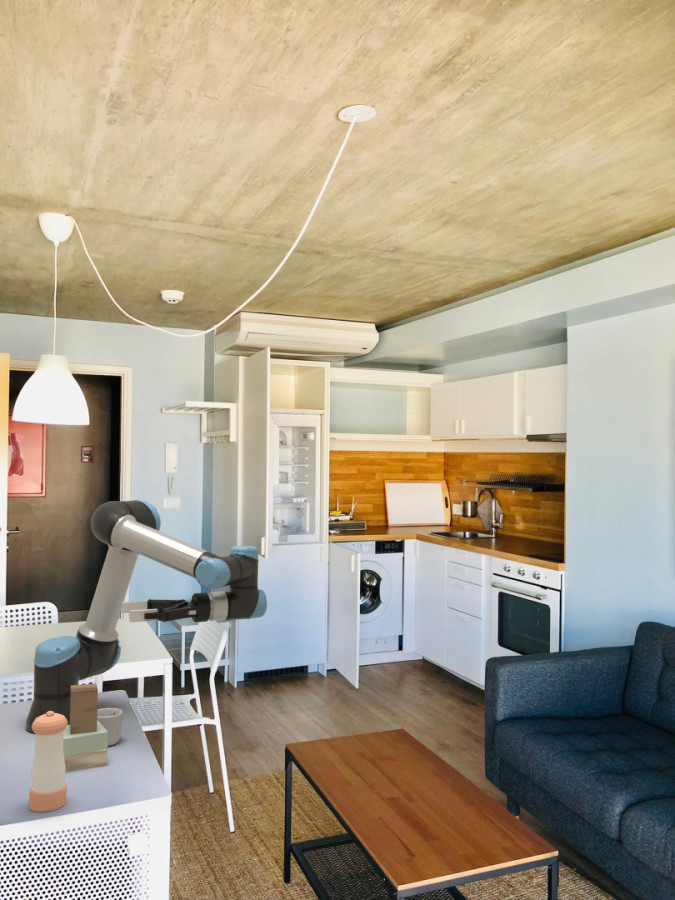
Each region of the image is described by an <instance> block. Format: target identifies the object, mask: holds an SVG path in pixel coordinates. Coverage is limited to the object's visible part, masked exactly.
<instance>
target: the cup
mask: <svg viewBox="0 0 675 900" xmlns="http://www.w3.org/2000/svg"><path fill="white" fill-rule="evenodd" d="M123 715H124V712H123V710H122V709H121V708H117V707H105V708H104V707H103V708H97V721H99V722H100V723H101V725H102V726H103V727H104V728H105V729H106V730H107V732H108V747H110V746H113V745H115V744H117V743H118V742H119V741H120V738H121V732H122V722H123Z"/></svg>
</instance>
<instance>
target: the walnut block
mask: <svg viewBox="0 0 675 900" xmlns="http://www.w3.org/2000/svg"><path fill="white" fill-rule="evenodd" d="M98 697H99V689H98V685H97V683H87V684H86V683H85V684H79V685H71V696H70V735H72V734H81V733H91V732H97V710H98V701H99V700H98Z"/></svg>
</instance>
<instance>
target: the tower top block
mask: <svg viewBox="0 0 675 900" xmlns="http://www.w3.org/2000/svg"><path fill="white" fill-rule="evenodd" d="M108 747H109V746H108V732H107V730H106V729H105V728H104V727H103V726H102V725H101V723H100V722H99V721H97V732H91V733H81V734H72V735H70V725H67V727H66V729H65V730H64V731H63V754H64V757H65V756H70V755H76V754H82V753H88V752H93V751H99V750H105V749H107V750H108V749H109V748H108Z"/></svg>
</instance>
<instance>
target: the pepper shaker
mask: <svg viewBox="0 0 675 900" xmlns="http://www.w3.org/2000/svg"><path fill="white" fill-rule="evenodd" d="M67 724H68V722H67V719H66V718H65V716H64V715H61V714H58V713H54V712H53V711H48V712H47V713H46V714H44V715H41V716H39V717H37V718H36V719H35V720H34V722H33V724H32V730H33V732H34V733H33V734H35V738H34V739H35V741H34V742H35V746H34V757H33V763H32V766H31V767H32V768H31V772H30V773H31V781H30V782H31V787H30V789H29V792H28V797H29V798H28V809H29V810H31V811H33V812H37V813H38V812H39V813H41V812H51V811H55V810H57V809H60V808H62V807H64V806H65V805H66V804H67V784H66V772H65V761H64V754H63V731H64V730H65V729H66V727H67Z"/></svg>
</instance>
